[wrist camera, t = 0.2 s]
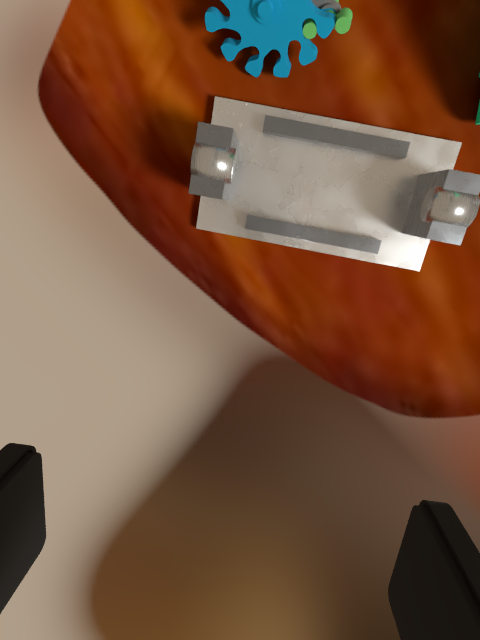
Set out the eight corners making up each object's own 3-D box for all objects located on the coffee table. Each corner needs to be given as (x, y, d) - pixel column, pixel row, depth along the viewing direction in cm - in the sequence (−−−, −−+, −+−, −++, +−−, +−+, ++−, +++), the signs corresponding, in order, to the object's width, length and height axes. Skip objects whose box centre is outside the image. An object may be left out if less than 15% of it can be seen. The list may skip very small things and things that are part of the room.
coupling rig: (216, 98, 33) (202, 71, 26) (457, 144, 32) (507, 128, 26) (197, 227, 36) (181, 233, 29) (416, 269, 36) (451, 285, 29)
